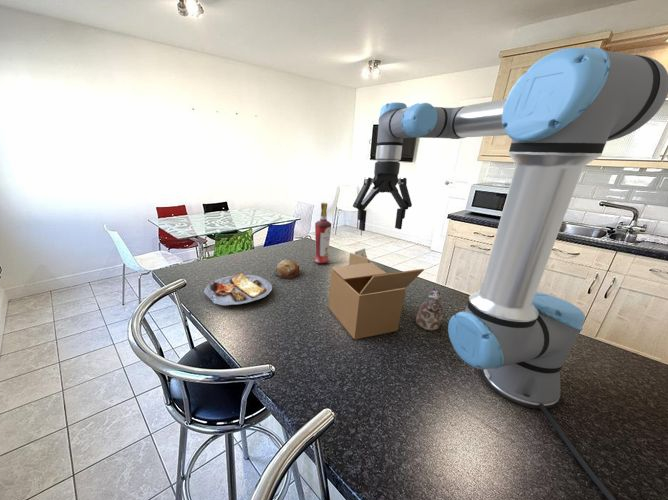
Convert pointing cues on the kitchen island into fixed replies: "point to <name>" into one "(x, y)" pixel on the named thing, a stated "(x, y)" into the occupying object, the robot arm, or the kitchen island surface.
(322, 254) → the liquor
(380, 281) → the flap
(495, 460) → the kitchen island surface
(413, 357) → the kitchen island surface
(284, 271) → the bread roll
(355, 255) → the sandwich container
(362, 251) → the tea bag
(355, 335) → the carton
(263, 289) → the food plate
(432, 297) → the figurine
